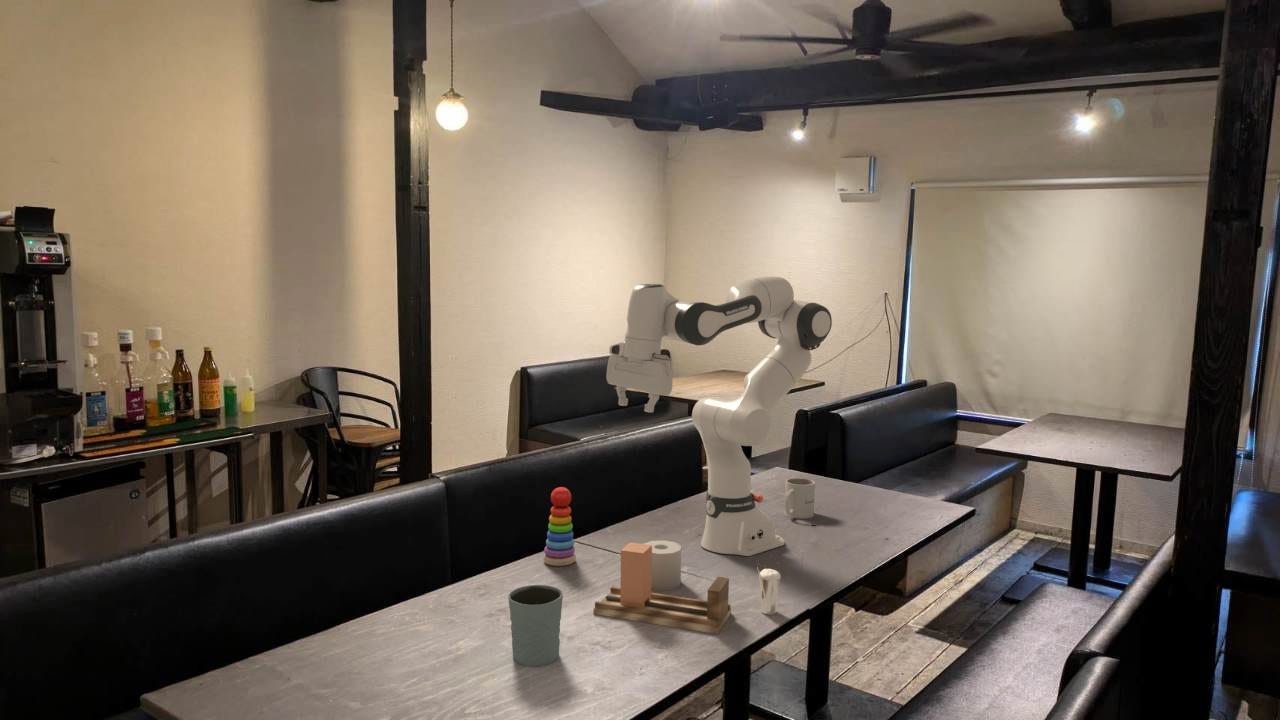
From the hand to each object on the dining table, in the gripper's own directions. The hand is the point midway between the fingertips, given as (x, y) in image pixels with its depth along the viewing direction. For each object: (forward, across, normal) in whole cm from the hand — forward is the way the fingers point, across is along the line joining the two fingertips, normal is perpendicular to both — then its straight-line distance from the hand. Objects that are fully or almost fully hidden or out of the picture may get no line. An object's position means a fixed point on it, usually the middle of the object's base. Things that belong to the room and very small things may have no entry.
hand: (635, 408), depth 200 cm
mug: (+32, +1, -69) cm, 76 cm away
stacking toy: (+41, +13, +7) cm, 44 cm away
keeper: (+39, -21, +12) cm, 45 cm away
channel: (+40, -26, +9) cm, 48 cm away
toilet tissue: (+39, -12, -2) cm, 41 cm away
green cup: (+43, -25, +40) cm, 64 cm away
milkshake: (+38, -40, -8) cm, 55 cm away
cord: (+38, -25, +10) cm, 47 cm away
